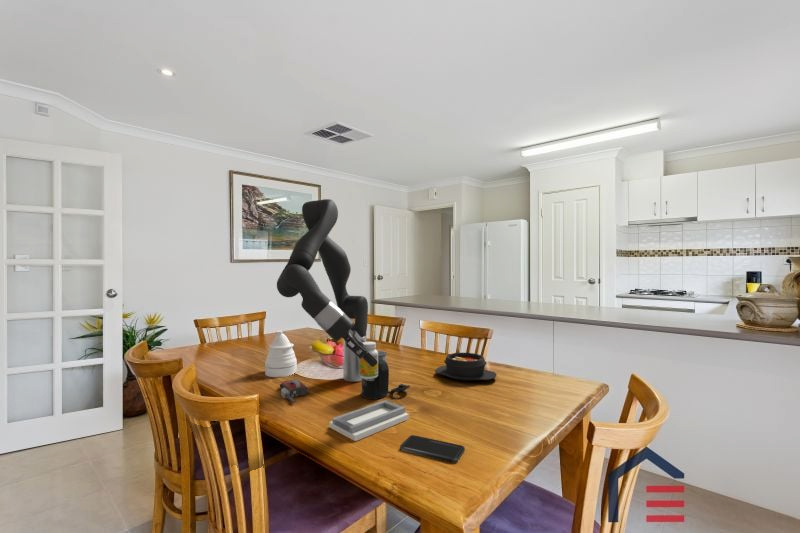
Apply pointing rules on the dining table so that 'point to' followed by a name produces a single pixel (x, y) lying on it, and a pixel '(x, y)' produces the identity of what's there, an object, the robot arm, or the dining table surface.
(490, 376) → the casserole
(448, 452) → the phone
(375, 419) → the board
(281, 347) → the honey pot
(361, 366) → the supplement bottle
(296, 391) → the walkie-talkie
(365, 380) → the milk frother
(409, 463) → the dining table surface
